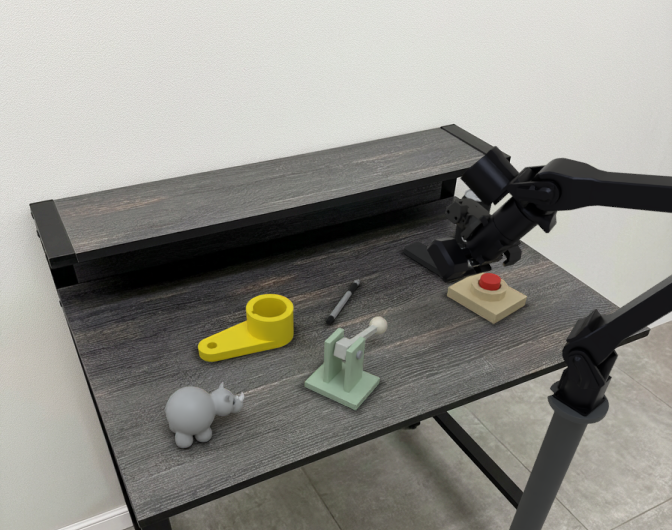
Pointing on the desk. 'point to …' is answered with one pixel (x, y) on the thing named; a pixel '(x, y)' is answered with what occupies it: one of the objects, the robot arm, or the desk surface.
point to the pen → (342, 302)
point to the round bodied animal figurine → (198, 412)
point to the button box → (486, 298)
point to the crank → (253, 330)
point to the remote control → (421, 256)
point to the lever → (375, 327)
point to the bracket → (343, 374)
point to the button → (490, 281)
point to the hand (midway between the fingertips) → (444, 280)
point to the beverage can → (458, 230)
